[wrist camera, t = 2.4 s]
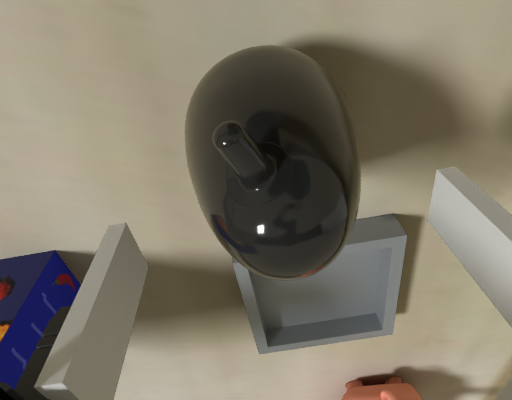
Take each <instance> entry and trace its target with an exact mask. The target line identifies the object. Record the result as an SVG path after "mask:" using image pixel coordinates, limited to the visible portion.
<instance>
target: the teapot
mask: <svg viewBox="0 0 512 400" xmlns="http://www.w3.org/2000/svg"><path fill="white" fill-rule="evenodd" d="M401 380H402V379H401V378H400V377H391V378H389V379H387V380H386V381H385V384H381V385H371V386H363V384H362V382H361V381H359V380H353V381H350V382H348V383H346V385H345V386H346V388H347V389H348V391H347V392H346V393H345V395H344V396H343V398H342V400H422V399H421V397H420V395H419V394H418V392H417V391H416V390H415V388H414V387H413V386H412V385H411V384H409V383H401Z"/></svg>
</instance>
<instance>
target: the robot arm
mask: <svg viewBox="0 0 512 400" xmlns="http://www.w3.org/2000/svg"><path fill="white" fill-rule="evenodd" d="M428 222H429V223H430V225H431V226H432V227H433V228H434V230H435V231H436V232H437V233H438V235H439V236H440V237H441V239H442V240H443V241H444V242H445V244H446V245H447V246H448V247H449V249H450V250H451V251H452V253H453V254H454V255H455V256H456V258H457V259H458V260H459V261H460V263H461V264H462V265H463V266H464V268H465V269H466V270H467V272H468V273H469V274H470V275H471V277H472V278H473V279H474V280H475V282H476V283H477V284H478V286H479V287H480V288H481V289H482V291H483V292H484V293H485V294H486V296H487V297H488V298H489V299H490V301H491V302H492V303H493V305H494V306H495V307H496V308H497V310H498V311H499V312H500V313H501V315H502V316H503V317H504V319H505V320H506V321H507V322H508V324H509V325H510V326H511V327H512V215H511V214H510V213H509V212H508V211H507V210H505V209H504V208H503V207H502V206H501V205H500V204H499V203H497V202H496V201H495V200H494V199H493V198H492V197H491V196H489V195H488V194H487V193H486V192H485V191H484V190H482V189H481V188H480V187H479V186H478V185H477V184H476V183H474V182H473V181H472V180H471V179H470V178H469V177H468V176H466V175H465V174H464V173H463V172H462V171H461V170H460V169H458V168H457V167H456V166H453V167H447V168H442V169H437V171H436V177H435V182H434V188H433V193H432V199H431V204H430V210H429V215H428ZM148 268H149V267H148V265H147V263H146V261H145V259H144V257H143V255H142V253H141V251H140V249H139V247H138V245H137V243H136V241H135V239H134V237H133V235H132V233H131V231H130V229H129V227H128V225H127V223H123V224H117V225H111V226H108V229H107V231H106V233H105V235H104V237H103V239H102V242H101V244H100V246H99V248H98V250H97V252H96V254H95V257H94V259H93V261H92V263H91V265H90V267H89V270H88V272H87V274H86V276H85V278H84V280H83V282H82V285H81V287H80V289H79V291H78V293H77V295H76V298H75V300H74V302H73V304H72V305H71V306H65V307H61V308H60V309H59V310H58V311H57V313H56V314H55V315H54V316H53V317H52V318H51V319H50V320H49V322H48V324H47V326H46V328H45V330H44V332H43V334H42V338H40V340H39V342H38V344H37V346H36V350H34V352H33V354H32V356H31V358H30V360H29V362H28V364H27V366H26V367H25V369H24V371H23V373H22V375H21V377H20V379H19V381H18V383H17V385H16V387H15V389H13V388H12V387H10V386H9V385H8V384H7V383H2V382H0V400H114V396H115V392H116V388H117V384H118V381H119V377H120V373H121V369H122V366H123V362H124V358H125V354H126V351H127V347H128V343H129V339H130V336H131V332H132V328H133V324H134V321H135V317H136V313H137V309H138V306H139V302H140V298H141V294H142V291H143V287H144V283H145V279H146V276H147V272H148Z"/></svg>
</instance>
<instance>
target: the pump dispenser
mask: <svg viewBox="0 0 512 400" xmlns="http://www.w3.org/2000/svg"><path fill="white" fill-rule="evenodd" d="M185 148H186V157H187V164H188V169H189V173H190V177H191V181H192V184H193V187H194V190H195V193H196V196H197V199H198V201H199V204H200V207H201V209H202V212H203V214H204V216H205V218H206V220H207V222H208V224H209V226H210V228H211V229H212V231H213V233H214V234H215V236H216V238H217V239H218V240H219V242H220V243H221V244H222V246H223V247H224V248H225V249H226V250H227V252H228V253H229V254H230V255H231V256H232V257H233V258H234V259H235V260H237V261H238V262H239V263H240V264H241V265H242V266H244V267H245V268H247V269H248V270H250V271H251V272H253V273H255V274H257V275H259V276H262V277H265V278H268V279H273V280H280V281H291V280H298V279H303V278H306V277H309V276H312V275H314V274H316V273H318V272H320V271H321V270H323V269H324V268H326V267H327V266H328V265H330V264H331V263H332V262H333V261H334V260H335V259H336V258H337V256H338V255H339V254H340V253H341V251H342V250H343V248H344V246H345V245H346V243H347V241H348V239H349V237H350V234H351V232H352V230H353V227H354V224H355V221H356V217H357V213H358V208H359V202H360V193H361V165H360V154H359V145H358V139H357V133H356V129H355V125H354V121H353V118H352V115H351V112H350V109H349V106H348V103H347V101H346V98H345V96H344V94H343V92H342V90H341V88H340V86H339V85H338V83H337V82H336V80H335V79H334V78H333V76H332V75H331V74H330V73H329V72H328V70H327V69H326V68H325V67H324V66H323V65H321V64H320V63H319V62H318V61H316V60H315V59H314V58H312V57H310V56H309V55H307V54H305V53H303V52H300V51H298V50H295V49H292V48H288V47H283V46H273V45H266V46H256V47H251V48H247V49H243V50H240V51H238V52H236V53H233V54H231V55H229V56H227V57H226V58H224V59H223V60H221V61H220V62H218V63H217V64H216V65H215V66H213V67H212V68H211V69H210V70H209V71H208V72H207V73H206V74H205V76H204V77H203V78H202V79H201V81H200V82H199V84H198V85H197V87H196V89H195V91H194V93H193V95H192V97H191V100H190V103H189V106H188V110H187V114H186V120H185Z"/></svg>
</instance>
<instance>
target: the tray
mask: <svg viewBox="0 0 512 400" xmlns="http://www.w3.org/2000/svg"><path fill="white" fill-rule="evenodd" d="M406 241H407V234H406V232H405V231H404V229H403V228H402V226H401V225H400V223H399V222H398V220H397V218H396V217H395V215H394V214H389V215H383V216H377V217H370V218H364V219H358V220H356V221H355V224H354V227H353V230H352V232H351V234H350V237H349V239H348V241H347V243H346V245H345V246H344V248H343V250H342V251H341V253H340V254H339V255H338V256H337V258H336V259H335V260H334V261H333V262H332V263H331V264H330V265H328V266H327V267H326V268H324V269H323V270H321V271H320V272H318V273H316V274H314V275H312V276H309V277H306V278H303V279H298V280H291V281H280V280H273V279H268V278H265V277H262V276H259V275H257V274H255V273H253V272H251V271H250V270H248V269H247V268H245V267H244V266H242V265H241V264H240V263H239V262H238V261H237V260H235V259H234V258H233V257H232V264H233V267H234V271H235V274H236V277H237V281H238V284H239V288H240V291H241V294H242V298H243V301H244V305H245V308H246V311H247V315H248V318H249V322H250V325H251V328H252V332H253V335H254V338H255V342H256V345H257V349H258V352H259V354H265V353H271V352H278V351H285V350H291V349H298V348H305V347H311V346H318V345H325V344H331V343H338V342H345V341H351V340H358V339H365V338H371V337H378V336H385V335H391V334H393V328H394V322H395V315H396V308H397V301H398V295H399V288H400V281H401V274H402V268H403V261H404V254H405V247H406Z"/></svg>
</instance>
